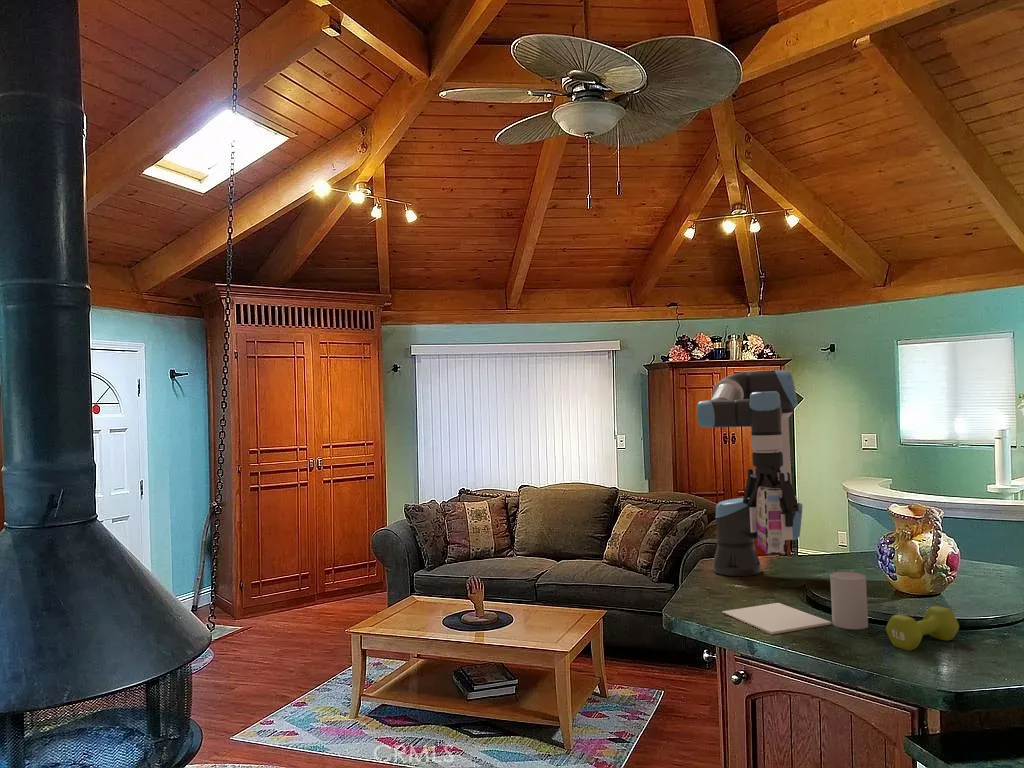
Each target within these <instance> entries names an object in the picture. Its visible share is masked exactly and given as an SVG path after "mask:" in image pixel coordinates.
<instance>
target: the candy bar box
mask: <svg viewBox="0 0 1024 768" xmlns="http://www.w3.org/2000/svg"><path fill="white" fill-rule="evenodd" d="M779 497H780V498H782V499H784V496H783V493H782V490H781V488H769V487H762V486H759V487H758V491H757V499H756V511H757V537H758V539H757V547H758V548H759V549H760V550H762V551H763V552H764V553H765V554H767V555H786V554H787V552H786V551H787V550H786V549H787V548H786V540H782V530H781V512H782V509H781V507H780V500H779Z"/></svg>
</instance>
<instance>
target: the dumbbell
mask: <svg viewBox="0 0 1024 768" xmlns="http://www.w3.org/2000/svg"><path fill="white" fill-rule="evenodd" d="M959 629H960V624H959V622H958V619H957V617H956V615H955V614H954V612H953V611H952V610H951V609H950V608H947V607H945V606H944V607H943V606H939V605H934V606H930V607H928V609H927V610H926V611H925V613H924V615H923V617H922V620H921V619H920V620H918V621H916V620H915V618H913V617H911V616H907V615H904V614H895V615H892V616H891V617H890V619H889V620H888V622H887V624H886V627H885V630H886V634H887V636H888V638H889V641H890V642H891V644H892V645H893V646H894V647H895V648H899V649H901V650H904V651H913V650H916V649H917V648H918V646H919V645H920V643H921V641H922V640H923V636H926V635H930V637H932V638H934V639H936V640H941V641H946V642H947V641H951V640H953V639H954V638H955V636H956V635H957V633H958V631H959Z"/></svg>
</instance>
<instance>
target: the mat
mask: <svg viewBox="0 0 1024 768" xmlns="http://www.w3.org/2000/svg"><path fill="white" fill-rule="evenodd" d="M721 613H725V614H727V615H729V616H732V617H734V618H736V619H738V620H740V621H739V622H741V621H742V622H741V623H743V622H744V623H743V624H745V623H747V624H746V625H748V624H749V625H748V626H750V625H751V626H750V627H752V626H754V627H753V628H755V627H756V628H755V629H757V628H758V629H757V630H759V629H760V630H759V631H762V632H764V633H766V634H768V635H777V634H782V633H789V632H796V631H800V630H801V631H802V630H805V629H812V628H819V627H825V626H829V625H832V621H830V620H827V619H825V618H821V617H819V616H816V615H813V614H811V613H808V612H805V611H802V610H800V609H797V608H794V607H792V606H789V605H786V604H783V603H780V602H775V603H773V602H772V603H769V604H768V603H766V604H762V605H761V604H760V605H755V606H749V607H743V608H735V609H727V610H723V611H721ZM727 615H726V616H727ZM729 616H728V617H729ZM734 618H733V619H734ZM736 619H735V620H736ZM738 620H737V621H738Z"/></svg>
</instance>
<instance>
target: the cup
mask: <svg viewBox="0 0 1024 768" xmlns="http://www.w3.org/2000/svg"><path fill="white" fill-rule="evenodd" d="M829 578H830V579H829V580H830V601H831V618H832V620H831V624H832V625H833V626H835V627H837V628H840V629H846V630H863V629H866V628H869V616H868V615H869V614H868V613H869V612H868V611H869V610H868V595H867V594H868V593H867V576H866V575H865V574H863V573H858V572H852V571H851V572H849V571H838V572H832V573H830V575H829Z"/></svg>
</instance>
